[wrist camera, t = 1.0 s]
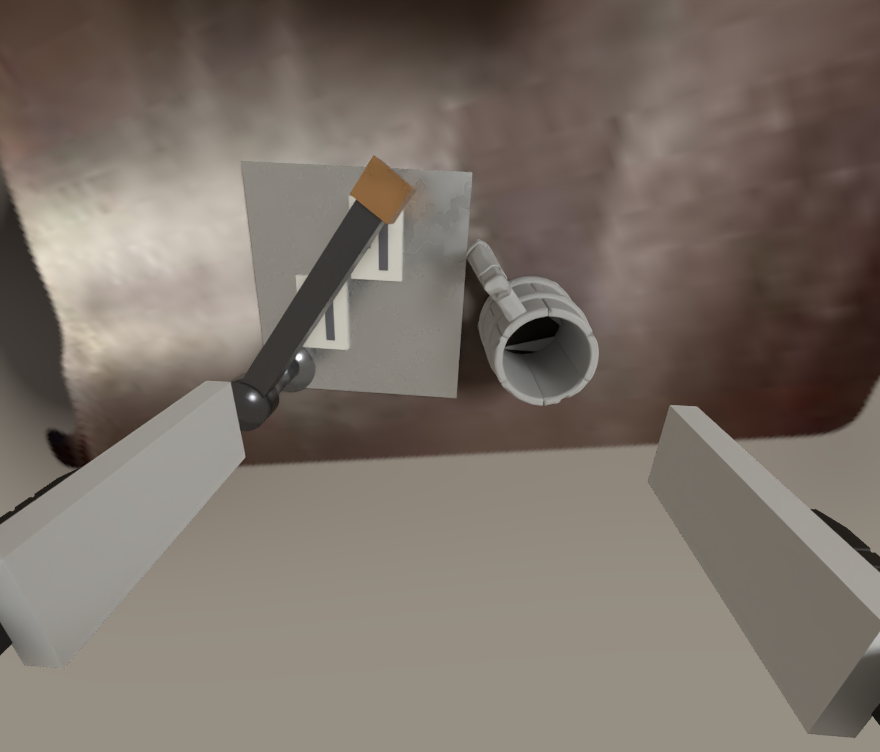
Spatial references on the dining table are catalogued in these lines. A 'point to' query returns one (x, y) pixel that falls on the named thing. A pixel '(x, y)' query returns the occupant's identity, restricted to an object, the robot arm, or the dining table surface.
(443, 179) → the plate
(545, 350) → the mug
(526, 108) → the dining table surface
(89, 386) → the dining table surface
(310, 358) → the grey metal knob
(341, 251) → the grey lever orange grip
